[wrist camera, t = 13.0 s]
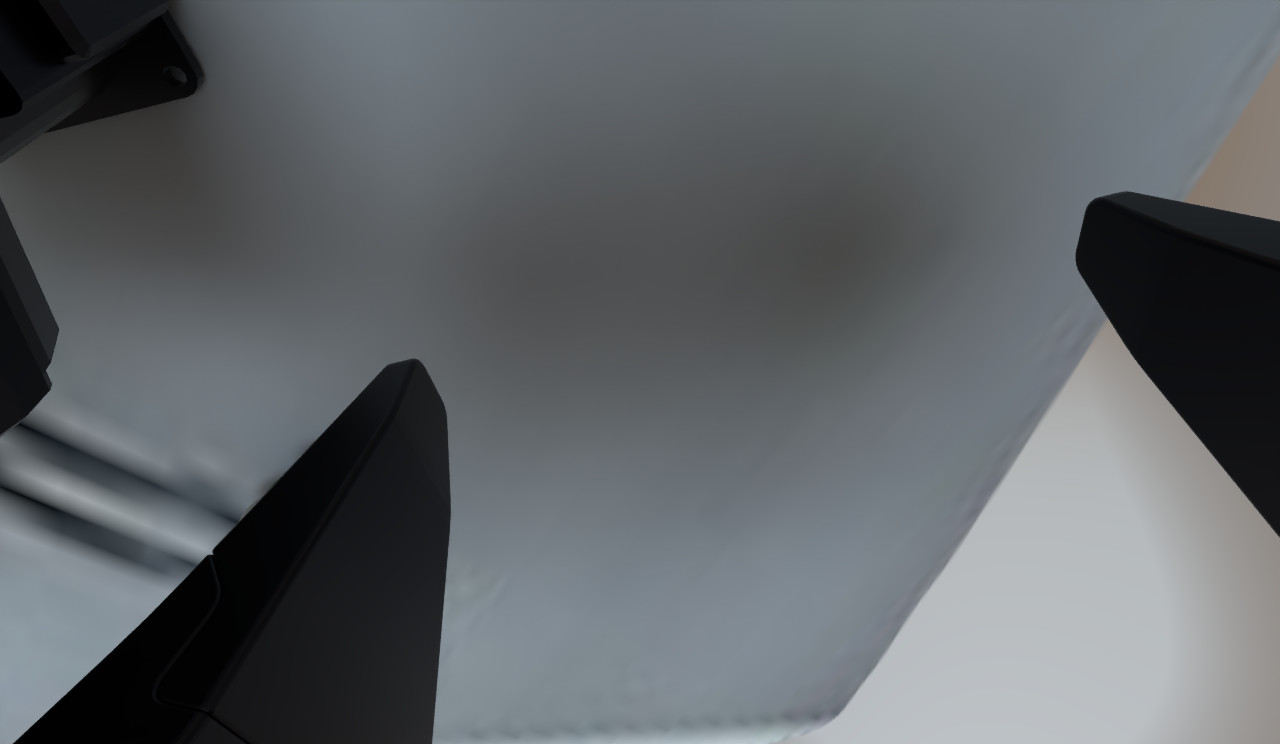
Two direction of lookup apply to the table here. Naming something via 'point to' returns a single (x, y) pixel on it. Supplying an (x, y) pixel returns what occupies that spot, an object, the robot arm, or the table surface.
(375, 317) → the table surface
